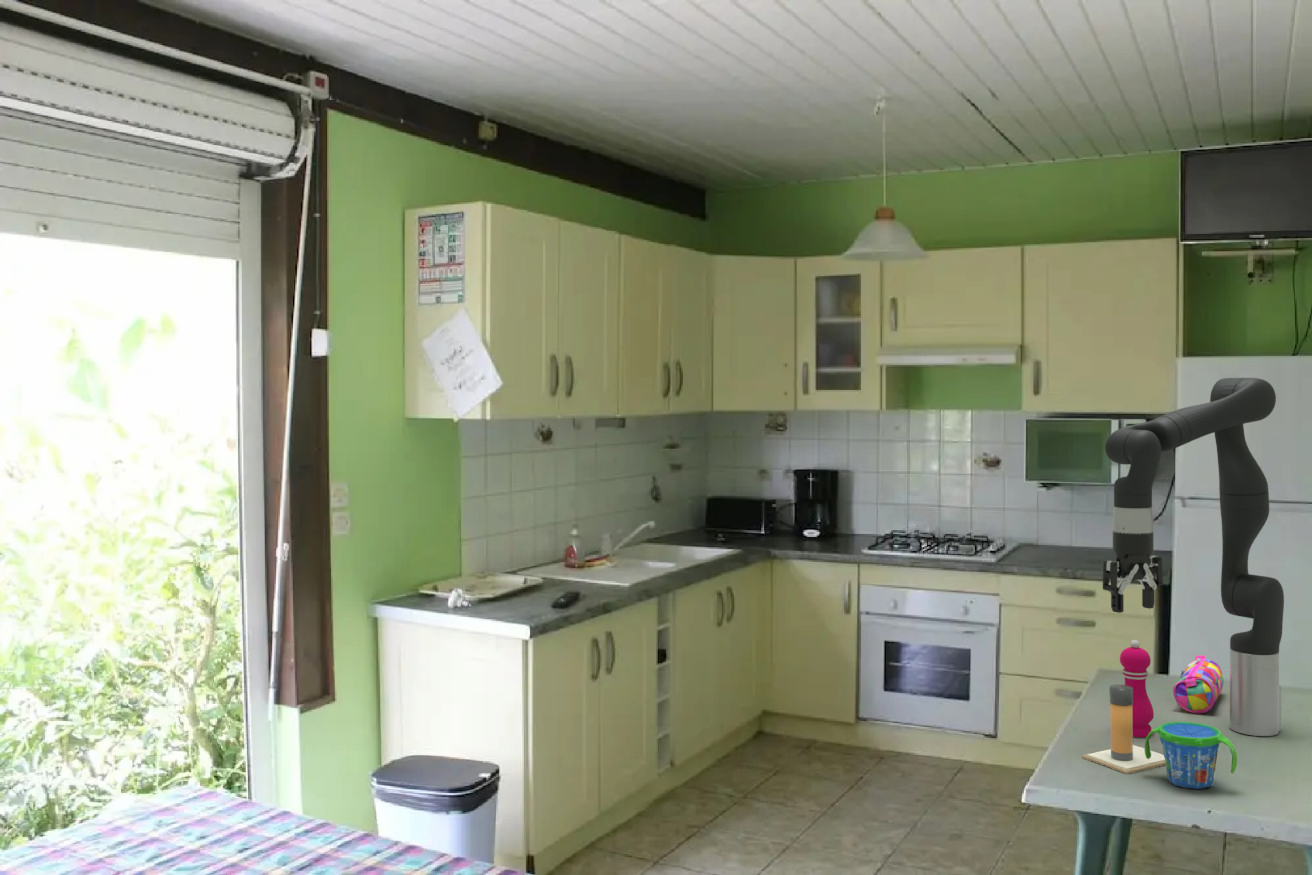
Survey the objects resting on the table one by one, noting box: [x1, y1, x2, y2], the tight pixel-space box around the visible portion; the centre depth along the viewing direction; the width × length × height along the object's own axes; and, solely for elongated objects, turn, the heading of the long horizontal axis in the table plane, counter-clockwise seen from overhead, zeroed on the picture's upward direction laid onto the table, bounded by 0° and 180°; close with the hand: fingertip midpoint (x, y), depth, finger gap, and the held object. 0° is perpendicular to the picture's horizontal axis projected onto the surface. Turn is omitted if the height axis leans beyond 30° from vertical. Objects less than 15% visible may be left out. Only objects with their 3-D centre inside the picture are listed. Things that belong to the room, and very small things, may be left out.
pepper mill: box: [1119, 639, 1155, 738], centre depth 238 cm, size 7×7×20 cm
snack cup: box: [1143, 721, 1238, 790], centre depth 208 cm, size 16×10×10 cm
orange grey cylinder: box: [1109, 684, 1134, 761], centre depth 220 cm, size 4×4×14 cm
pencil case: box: [1172, 654, 1224, 714], centre depth 260 cm, size 22×9×9 cm, turn 150°
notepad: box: [1081, 744, 1166, 775], centre depth 222 cm, size 14×11×1 cm
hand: (1133, 609), depth 224 cm, fingers open, 8 cm apart
